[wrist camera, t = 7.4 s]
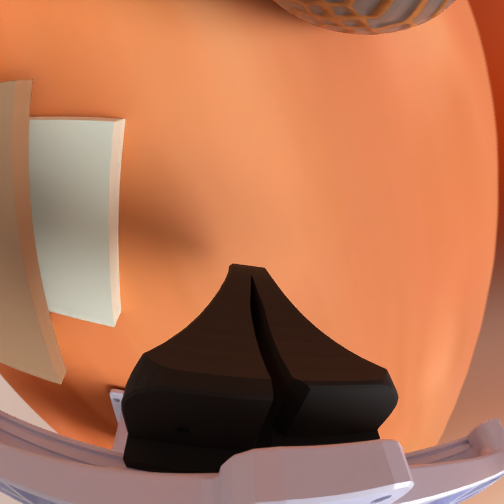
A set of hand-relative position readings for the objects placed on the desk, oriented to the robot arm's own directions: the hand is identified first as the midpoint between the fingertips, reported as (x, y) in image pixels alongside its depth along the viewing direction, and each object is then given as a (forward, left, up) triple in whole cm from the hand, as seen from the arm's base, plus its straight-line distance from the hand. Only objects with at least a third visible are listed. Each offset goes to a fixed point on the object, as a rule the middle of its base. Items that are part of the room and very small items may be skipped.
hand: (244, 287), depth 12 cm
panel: (0, +10, -3) cm, 11 cm away
